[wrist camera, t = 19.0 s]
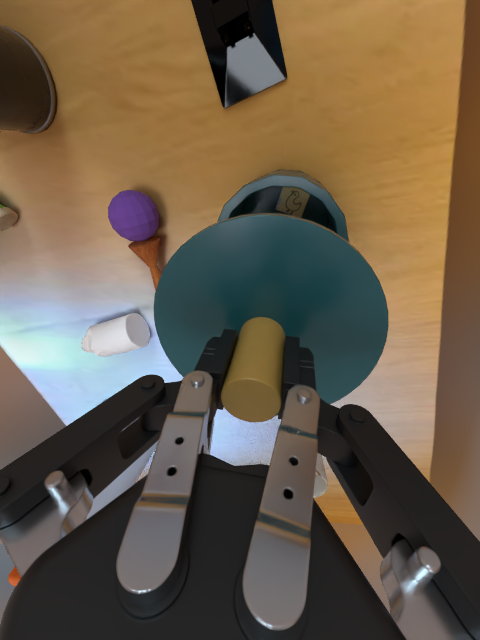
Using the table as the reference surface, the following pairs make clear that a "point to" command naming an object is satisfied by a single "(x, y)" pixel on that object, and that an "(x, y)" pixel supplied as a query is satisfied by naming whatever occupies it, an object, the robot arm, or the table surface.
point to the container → (266, 194)
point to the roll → (117, 335)
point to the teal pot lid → (272, 307)
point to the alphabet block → (292, 201)
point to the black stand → (241, 46)
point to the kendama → (137, 226)
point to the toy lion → (7, 217)
